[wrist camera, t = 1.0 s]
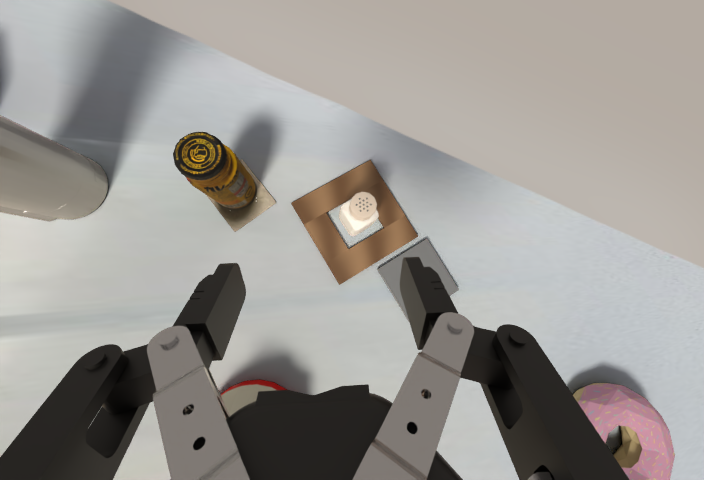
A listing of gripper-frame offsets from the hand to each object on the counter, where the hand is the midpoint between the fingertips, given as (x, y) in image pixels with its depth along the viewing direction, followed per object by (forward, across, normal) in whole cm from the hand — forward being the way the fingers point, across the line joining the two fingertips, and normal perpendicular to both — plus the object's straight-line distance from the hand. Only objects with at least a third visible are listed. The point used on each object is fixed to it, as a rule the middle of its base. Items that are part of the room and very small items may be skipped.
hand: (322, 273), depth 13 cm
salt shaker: (+25, -4, +11) cm, 28 cm away
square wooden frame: (+25, -4, +11) cm, 28 cm away
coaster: (+20, -13, +18) cm, 30 cm away
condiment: (+28, +14, +8) cm, 32 cm away
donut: (+5, -39, +38) cm, 54 cm away
